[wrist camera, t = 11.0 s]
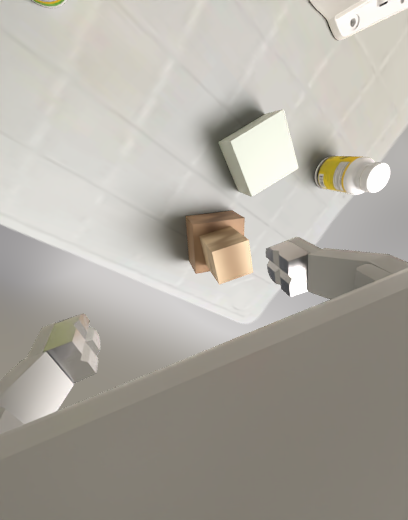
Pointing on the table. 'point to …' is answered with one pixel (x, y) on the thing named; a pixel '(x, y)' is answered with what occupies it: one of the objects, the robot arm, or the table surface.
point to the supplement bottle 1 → (50, 3)
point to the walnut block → (205, 225)
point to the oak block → (227, 254)
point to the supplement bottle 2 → (351, 174)
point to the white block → (260, 153)
